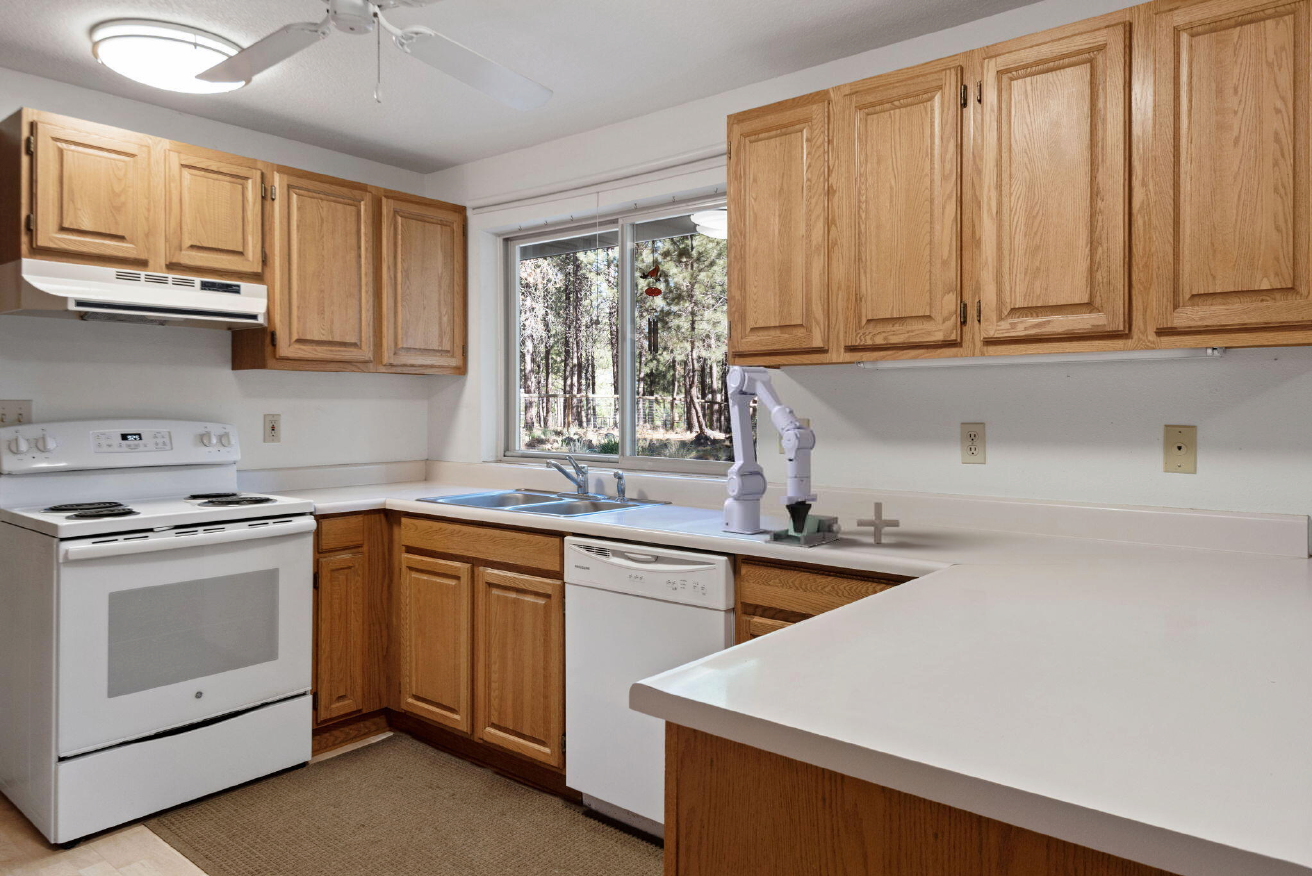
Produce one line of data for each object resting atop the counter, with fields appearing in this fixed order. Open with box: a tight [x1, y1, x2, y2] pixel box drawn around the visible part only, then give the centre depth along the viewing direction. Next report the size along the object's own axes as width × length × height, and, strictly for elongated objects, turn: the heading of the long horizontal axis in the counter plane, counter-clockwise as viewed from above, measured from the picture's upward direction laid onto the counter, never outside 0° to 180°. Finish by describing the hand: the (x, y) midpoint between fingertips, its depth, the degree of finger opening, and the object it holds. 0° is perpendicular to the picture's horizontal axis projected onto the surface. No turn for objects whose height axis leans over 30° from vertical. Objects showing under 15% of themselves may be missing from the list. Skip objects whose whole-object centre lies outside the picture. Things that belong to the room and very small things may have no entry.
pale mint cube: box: [788, 515, 819, 537], centre depth 206 cm, size 5×5×6 cm
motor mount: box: [763, 513, 843, 548], centre depth 207 cm, size 13×18×6 cm
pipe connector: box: [856, 501, 901, 544], centre depth 203 cm, size 10×10×10 cm
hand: (799, 532), depth 204 cm, fingers closed, pressing on pale mint cube
